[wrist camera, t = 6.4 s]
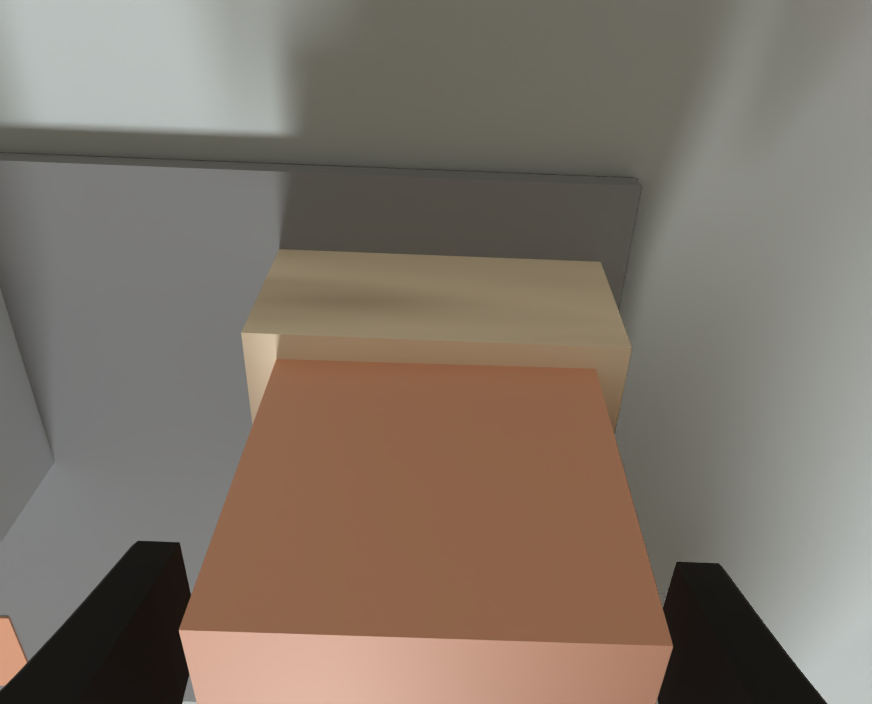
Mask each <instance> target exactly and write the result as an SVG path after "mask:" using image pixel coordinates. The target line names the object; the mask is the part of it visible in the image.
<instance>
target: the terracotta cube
mask: <svg viewBox="0 0 872 704" xmlns="http://www.w3.org/2000/svg"><path fill="white" fill-rule="evenodd" d="M179 634H180V638H181V642H182V646H183V650H184V654H185V658H186V662H187V666H188V670H189V674H190V678H191V682H192V686H193V690H194V694H195V698H196V702H197V704H656V701H657V698H658V695H659V691H660V688H661V685H662V681H663V678H664V675H665V672H666V668H667V665H668V662H669V658H670V655H671V652H672V649H673V644H672V640H671V636H670V633H669V629H668V626H667V622H666V619H665V615H664V611H663V608H662V604H661V601H660V597H659V593H658V590H657V586H656V583H655V579H654V576H653V572H652V568H651V565H650V561H649V558H648V554H647V550H646V547H645V543H644V540H643V536H642V532H641V529H640V525H639V522H638V518H637V515H636V511H635V507H634V504H633V500H632V497H631V493H630V489H629V486H628V482H627V479H626V475H625V471H624V468H623V464H622V461H621V457H620V454H619V450H618V446H617V443H616V439H615V436H614V432H613V428H612V425H611V421H610V418H609V414H608V410H607V407H606V403H605V400H604V396H603V393H602V389H601V385H600V382H599V378H598V375H597V371H596V369H584V368H551V367H518V366H486V365H453V364H420V363H388V362H355V361H322V360H290V359H276V361H275V364H274V367H273V370H272V372H271V375H270V378H269V381H268V383H267V386H266V389H265V392H264V395H263V397H262V400H261V403H260V406H259V408H258V411H257V414H256V417H255V420H254V422H253V425H252V428H251V431H250V433H249V436H248V439H247V442H246V444H245V447H244V450H243V453H242V456H241V458H240V461H239V464H238V467H237V469H236V472H235V475H234V478H233V481H232V483H231V486H230V489H229V492H228V494H227V497H226V500H225V503H224V506H223V508H222V511H221V514H220V517H219V519H218V522H217V525H216V528H215V531H214V533H213V536H212V539H211V542H210V544H209V547H208V550H207V553H206V556H205V558H204V561H203V564H202V567H201V569H200V572H199V575H198V578H197V581H196V583H195V586H194V589H193V592H192V594H191V597H190V600H189V603H188V606H187V608H186V611H185V614H184V617H183V619H182V622H181V625H180V628H179Z"/></svg>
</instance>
